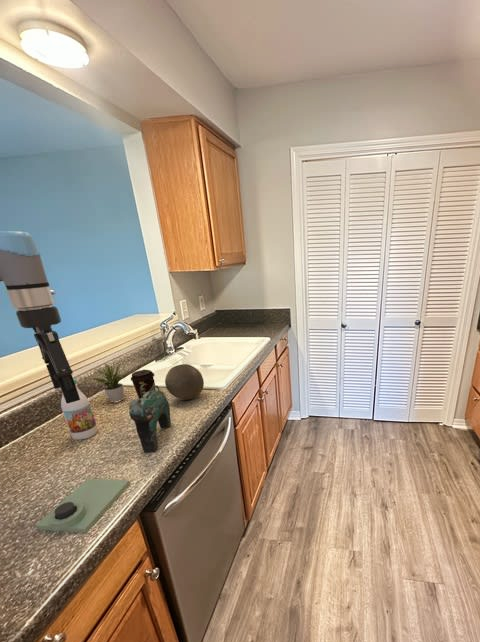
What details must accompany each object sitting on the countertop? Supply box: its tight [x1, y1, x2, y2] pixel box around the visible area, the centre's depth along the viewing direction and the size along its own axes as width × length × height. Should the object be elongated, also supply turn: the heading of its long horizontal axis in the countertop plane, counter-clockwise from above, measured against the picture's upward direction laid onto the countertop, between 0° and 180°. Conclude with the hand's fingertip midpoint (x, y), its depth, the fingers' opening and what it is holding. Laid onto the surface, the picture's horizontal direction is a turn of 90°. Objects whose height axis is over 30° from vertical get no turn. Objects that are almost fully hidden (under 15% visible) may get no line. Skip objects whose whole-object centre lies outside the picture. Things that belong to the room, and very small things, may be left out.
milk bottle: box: [60, 377, 99, 441], centre depth 106 cm, size 8×8×20 cm
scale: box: [35, 478, 131, 534], centre depth 77 cm, size 17×12×3 cm
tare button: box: [54, 502, 76, 520], centre depth 72 cm, size 4×4×2 cm
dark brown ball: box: [164, 363, 205, 401], centre depth 130 cm, size 14×14×15 cm
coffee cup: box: [130, 369, 157, 399], centre depth 130 cm, size 9×8×13 cm
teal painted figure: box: [128, 384, 172, 454], centre depth 102 cm, size 20×6×20 cm, turn 3°
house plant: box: [87, 360, 126, 402], centre depth 134 cm, size 14×14×16 cm
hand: (66, 394), depth 80 cm, fingers open, 13 cm apart
